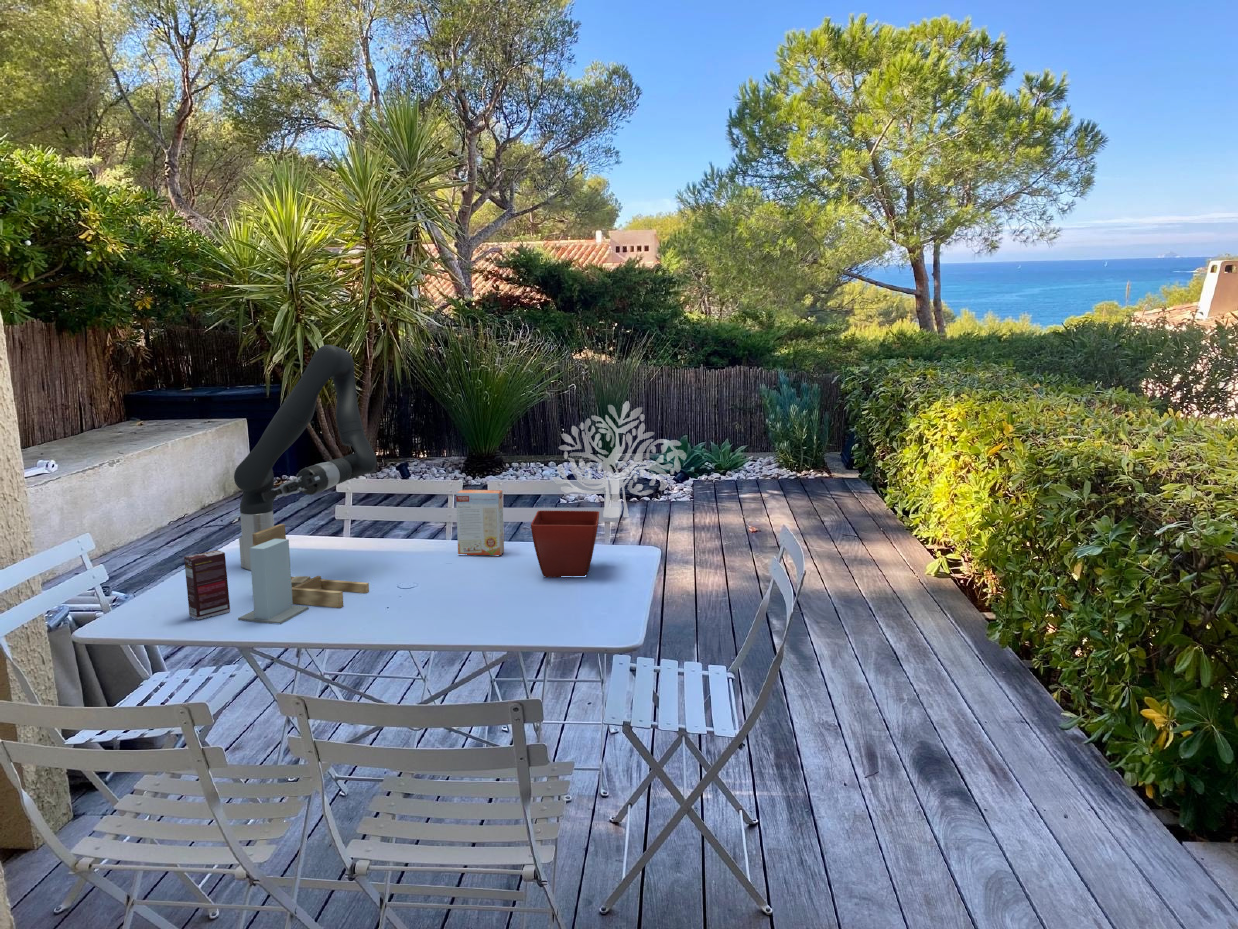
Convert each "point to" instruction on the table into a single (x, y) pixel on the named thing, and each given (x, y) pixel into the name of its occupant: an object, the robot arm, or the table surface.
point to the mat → (278, 618)
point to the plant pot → (564, 541)
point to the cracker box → (480, 522)
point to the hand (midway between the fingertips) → (273, 493)
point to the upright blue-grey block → (271, 578)
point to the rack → (313, 579)
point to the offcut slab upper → (299, 580)
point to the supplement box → (207, 584)
